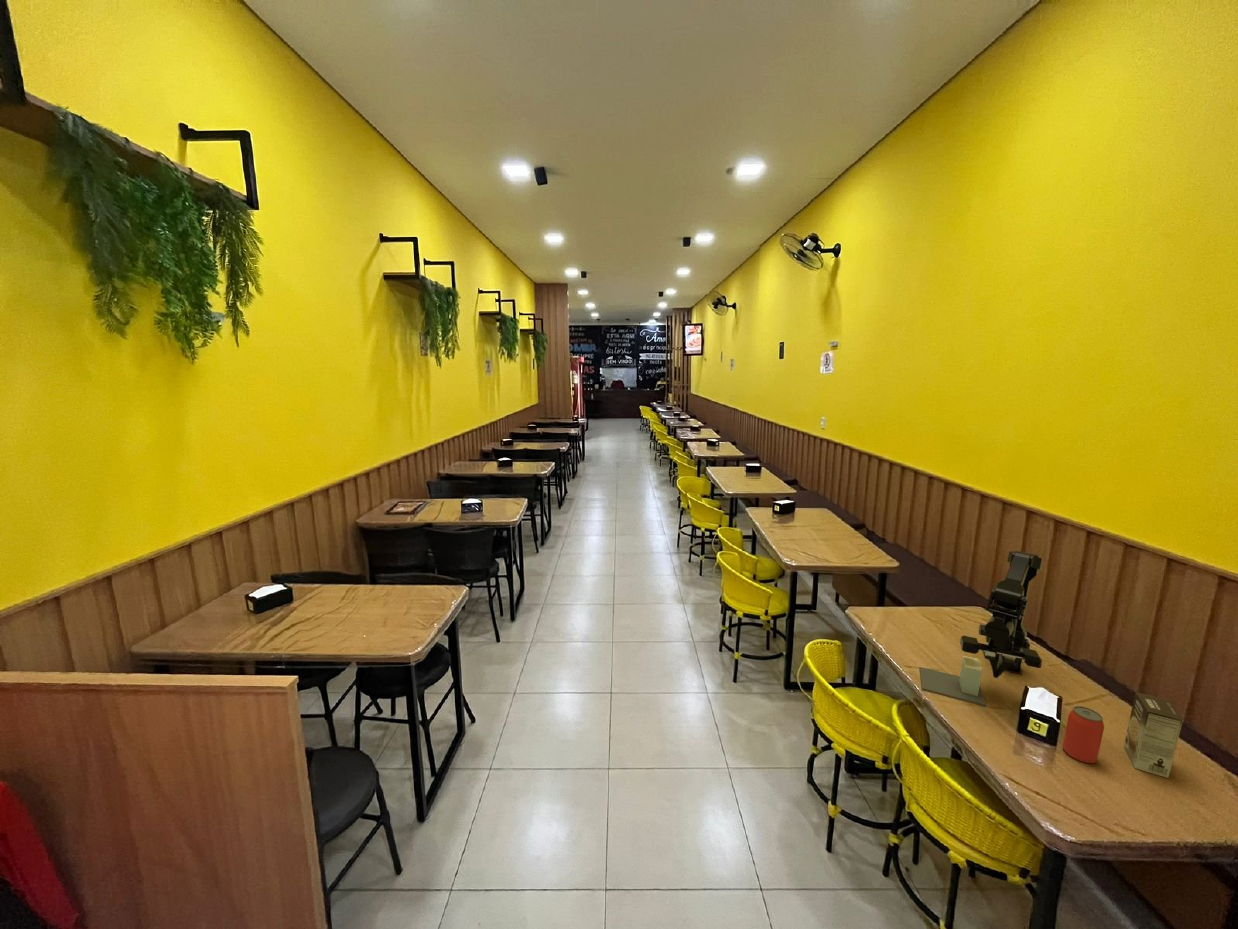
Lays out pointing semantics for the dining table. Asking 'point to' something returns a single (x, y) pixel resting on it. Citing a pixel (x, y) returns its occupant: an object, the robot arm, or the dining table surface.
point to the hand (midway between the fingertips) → (995, 677)
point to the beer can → (1083, 734)
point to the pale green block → (970, 675)
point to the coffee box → (1152, 734)
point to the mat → (947, 686)
